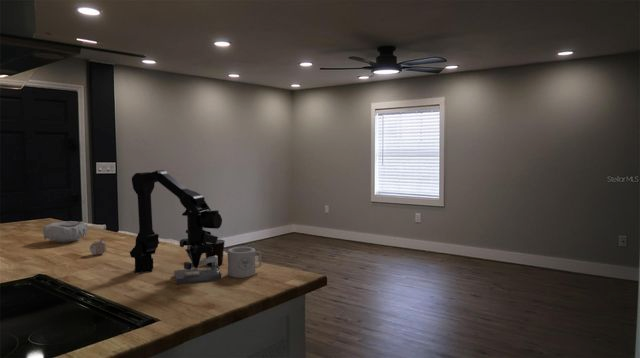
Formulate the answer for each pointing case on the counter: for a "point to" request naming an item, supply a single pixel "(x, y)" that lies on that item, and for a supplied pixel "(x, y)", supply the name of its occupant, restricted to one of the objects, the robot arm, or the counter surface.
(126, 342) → the counter surface
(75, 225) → the bowl
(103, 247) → the garlic bulb
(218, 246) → the coffee mug
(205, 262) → the cable arm
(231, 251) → the mug
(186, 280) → the chassis
